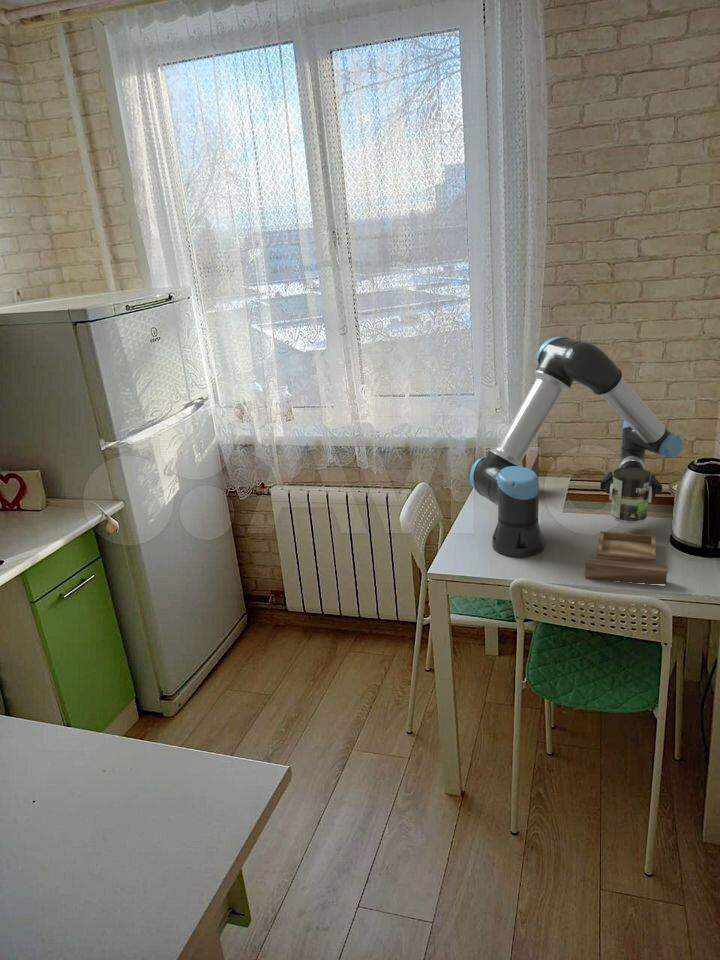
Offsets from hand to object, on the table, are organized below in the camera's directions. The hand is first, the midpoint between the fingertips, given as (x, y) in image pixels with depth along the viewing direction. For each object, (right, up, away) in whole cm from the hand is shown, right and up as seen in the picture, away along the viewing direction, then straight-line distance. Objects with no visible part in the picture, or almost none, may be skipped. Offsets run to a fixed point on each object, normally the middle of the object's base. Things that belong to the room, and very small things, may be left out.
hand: (630, 497), depth 207 cm
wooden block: (-20, 0, +43) cm, 47 cm away
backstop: (-8, -22, -18) cm, 30 cm away
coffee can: (+2, -6, +7) cm, 9 cm away
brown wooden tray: (-3, -16, -5) cm, 17 cm away
